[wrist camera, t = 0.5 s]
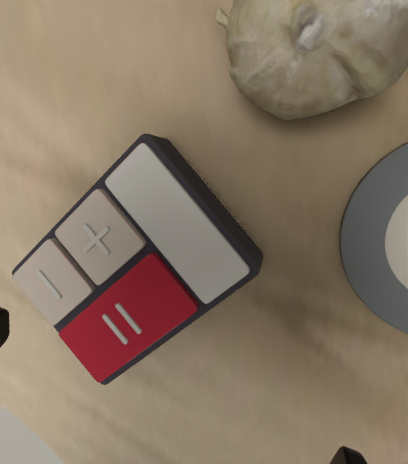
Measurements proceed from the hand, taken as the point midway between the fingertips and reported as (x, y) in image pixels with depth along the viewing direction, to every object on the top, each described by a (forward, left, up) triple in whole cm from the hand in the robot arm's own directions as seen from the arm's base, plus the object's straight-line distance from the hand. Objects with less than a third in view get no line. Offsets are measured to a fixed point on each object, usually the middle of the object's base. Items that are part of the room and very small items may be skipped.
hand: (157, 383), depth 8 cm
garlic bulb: (+12, -4, -15) cm, 20 cm away
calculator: (-1, +7, -15) cm, 17 cm away
